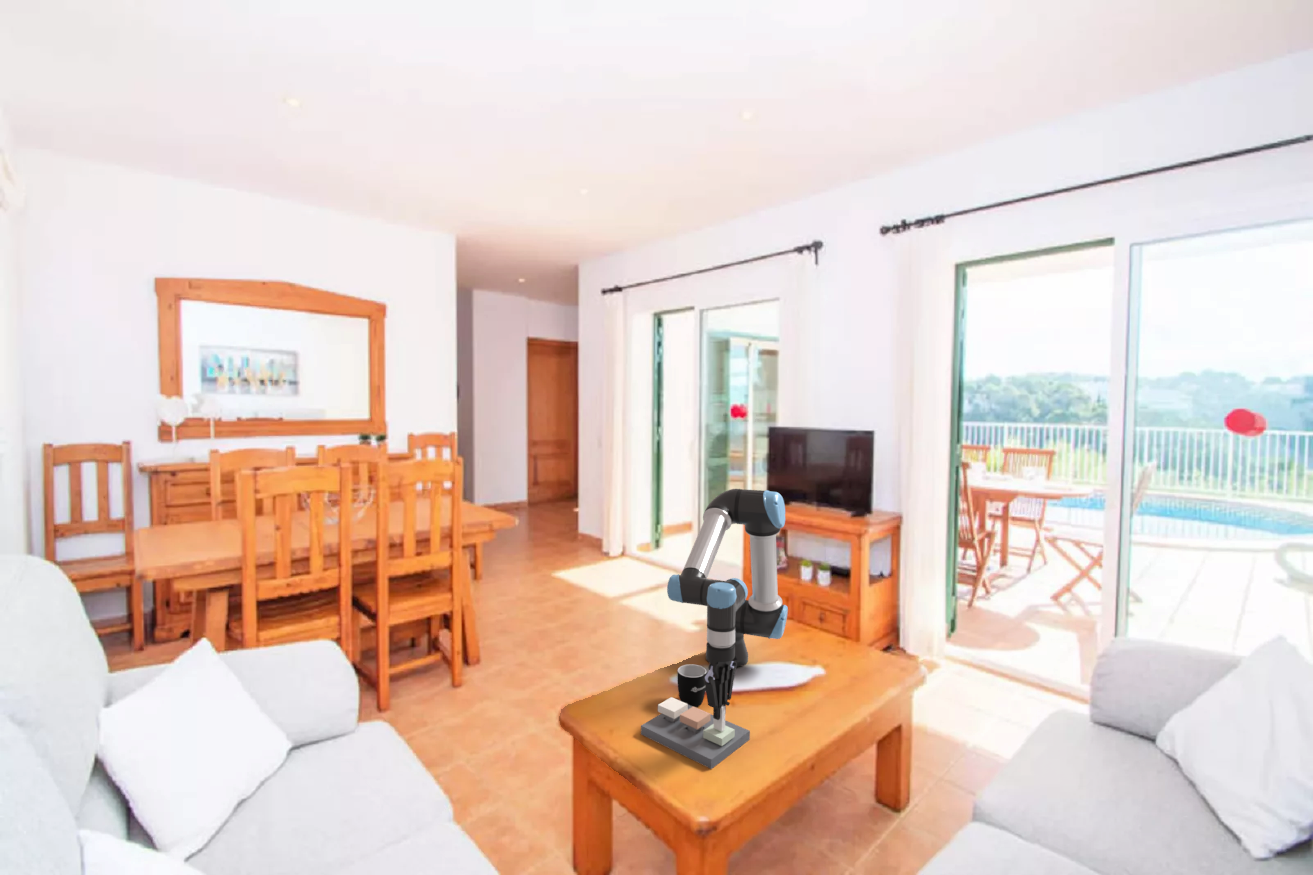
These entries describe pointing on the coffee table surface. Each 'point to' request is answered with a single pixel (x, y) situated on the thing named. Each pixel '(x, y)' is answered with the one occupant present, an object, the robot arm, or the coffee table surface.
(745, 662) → the robot arm
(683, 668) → the mug
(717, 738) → the key sage
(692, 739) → the keypad base
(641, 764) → the coffee table surface
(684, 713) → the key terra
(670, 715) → the key ivory
